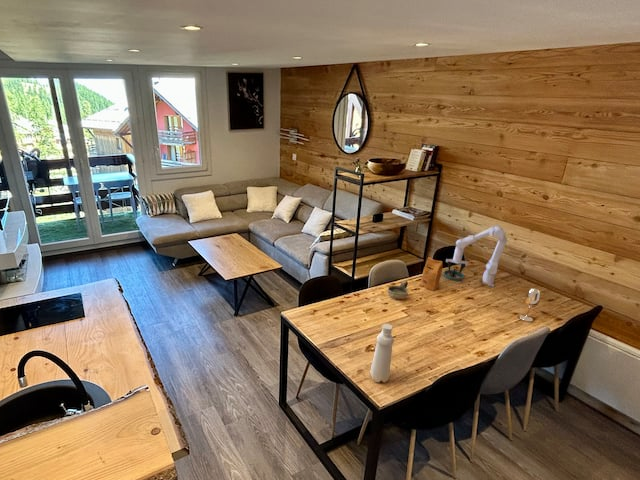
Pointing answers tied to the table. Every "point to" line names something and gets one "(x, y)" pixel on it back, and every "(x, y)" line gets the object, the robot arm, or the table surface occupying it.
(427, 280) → the coffee package
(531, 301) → the wineglass
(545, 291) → the table surface
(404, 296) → the bowl
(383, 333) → the bottle
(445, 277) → the teal ring
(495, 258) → the robot arm
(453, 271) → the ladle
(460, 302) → the table surface
